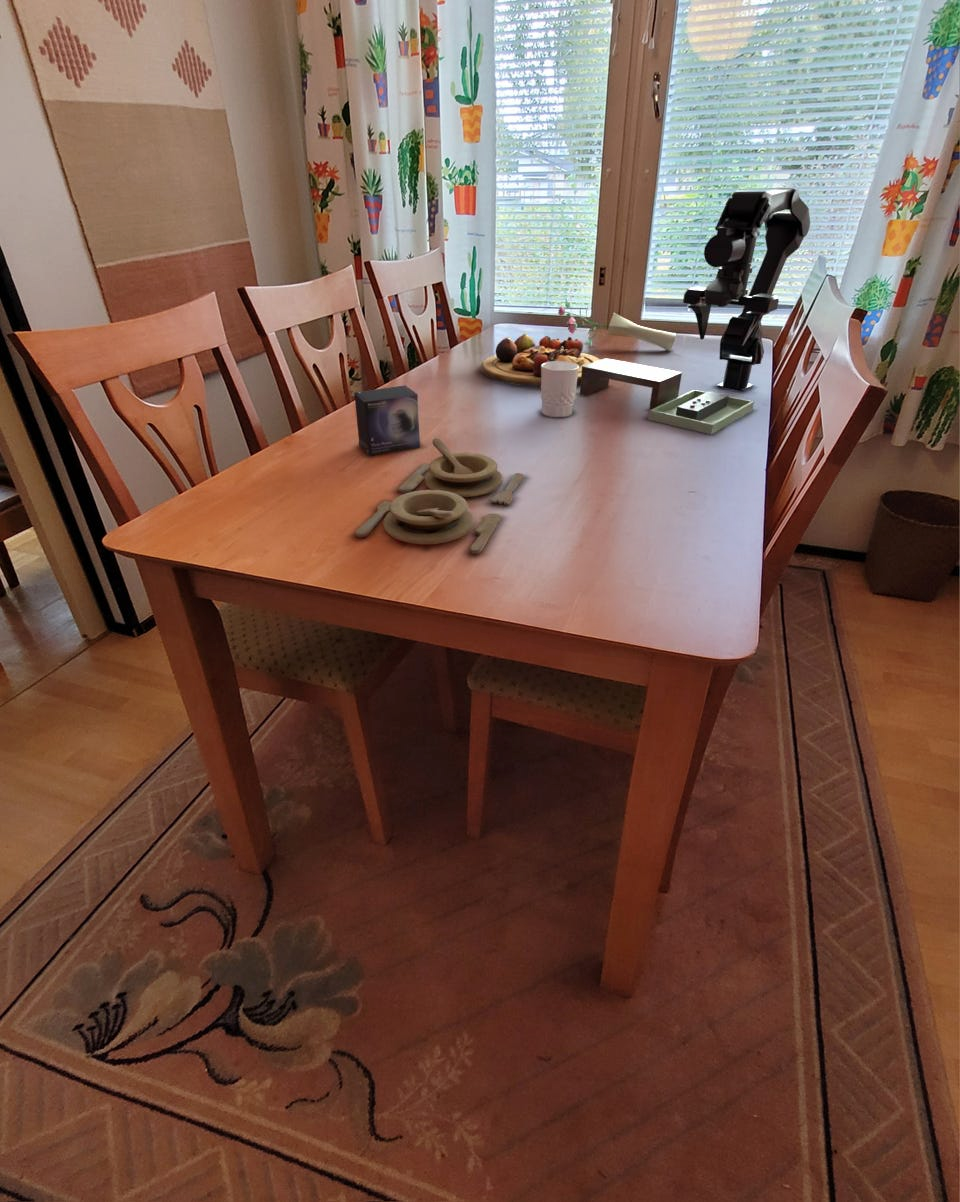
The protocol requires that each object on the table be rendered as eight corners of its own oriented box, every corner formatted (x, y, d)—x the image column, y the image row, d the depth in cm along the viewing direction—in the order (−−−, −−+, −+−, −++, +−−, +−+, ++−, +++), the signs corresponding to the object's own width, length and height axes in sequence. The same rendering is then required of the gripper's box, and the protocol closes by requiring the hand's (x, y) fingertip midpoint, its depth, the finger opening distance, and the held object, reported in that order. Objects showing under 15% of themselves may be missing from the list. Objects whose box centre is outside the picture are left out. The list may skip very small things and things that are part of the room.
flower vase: (659, 379, 190) (546, 345, 194) (666, 357, 197) (557, 324, 201) (674, 343, 181) (554, 308, 184) (680, 321, 188) (565, 287, 191)
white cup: (579, 409, 143) (583, 363, 138) (568, 420, 137) (572, 372, 132) (546, 405, 146) (548, 359, 140) (533, 415, 140) (535, 368, 135)
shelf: (602, 385, 159) (605, 358, 155) (677, 401, 148) (682, 372, 144) (579, 394, 153) (581, 366, 149) (655, 411, 142) (659, 381, 138)
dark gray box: (707, 402, 145) (709, 389, 144) (726, 406, 143) (729, 393, 141) (675, 419, 136) (677, 405, 135) (695, 423, 134) (697, 409, 132)
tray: (692, 398, 150) (693, 389, 149) (752, 410, 142) (754, 401, 141) (648, 419, 138) (649, 410, 136) (711, 434, 130) (713, 424, 128)
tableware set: (478, 557, 90) (478, 518, 86) (349, 538, 94) (344, 501, 91) (527, 475, 113) (528, 442, 110) (422, 463, 118) (420, 431, 115)
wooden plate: (591, 394, 153) (594, 358, 148) (464, 383, 162) (463, 348, 157) (613, 361, 178) (616, 329, 173) (502, 353, 187) (502, 322, 182)
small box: (369, 457, 121) (363, 401, 115) (358, 446, 125) (352, 391, 119) (421, 447, 125) (418, 392, 119) (409, 437, 129) (405, 384, 123)
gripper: (676, 262, 134) (665, 342, 142) (766, 270, 123) (747, 355, 132) (701, 257, 141) (688, 334, 149) (788, 264, 130) (769, 346, 139)
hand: (721, 342), depth 142 cm, fingers open, 9 cm apart
